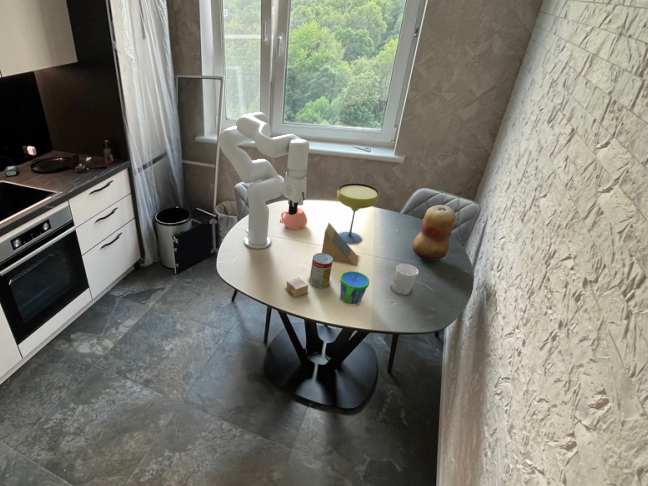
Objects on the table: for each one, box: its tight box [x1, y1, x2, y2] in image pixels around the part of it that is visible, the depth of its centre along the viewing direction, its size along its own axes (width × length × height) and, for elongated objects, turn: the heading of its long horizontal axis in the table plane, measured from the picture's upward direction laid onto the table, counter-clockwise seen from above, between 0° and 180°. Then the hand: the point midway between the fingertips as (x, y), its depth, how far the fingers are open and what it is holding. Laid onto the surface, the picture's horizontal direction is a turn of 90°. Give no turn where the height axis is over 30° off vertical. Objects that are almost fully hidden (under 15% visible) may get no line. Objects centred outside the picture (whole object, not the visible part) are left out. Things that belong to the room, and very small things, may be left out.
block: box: [285, 276, 309, 298], centre depth 163 cm, size 6×6×4 cm
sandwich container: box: [321, 222, 359, 266], centre depth 178 cm, size 9×15×15 cm, turn 65°
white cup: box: [391, 263, 419, 296], centre depth 159 cm, size 8×8×10 cm
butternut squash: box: [412, 204, 457, 261], centre depth 172 cm, size 14×13×25 cm
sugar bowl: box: [279, 207, 308, 230], centre depth 206 cm, size 12×14×10 cm
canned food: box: [309, 252, 333, 288], centre depth 165 cm, size 8×8×12 cm
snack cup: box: [339, 270, 370, 305], centre depth 155 cm, size 16×10×10 cm
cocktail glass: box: [336, 183, 380, 245], centre depth 189 cm, size 18×18×25 cm
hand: (292, 213), depth 167 cm, fingers closed
